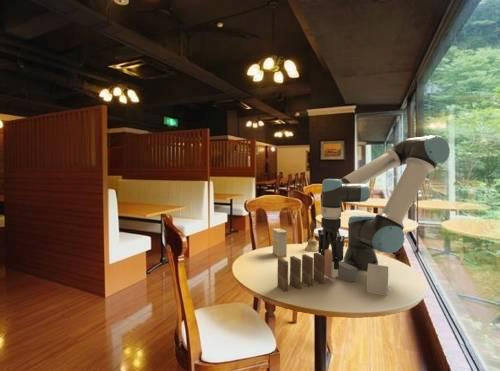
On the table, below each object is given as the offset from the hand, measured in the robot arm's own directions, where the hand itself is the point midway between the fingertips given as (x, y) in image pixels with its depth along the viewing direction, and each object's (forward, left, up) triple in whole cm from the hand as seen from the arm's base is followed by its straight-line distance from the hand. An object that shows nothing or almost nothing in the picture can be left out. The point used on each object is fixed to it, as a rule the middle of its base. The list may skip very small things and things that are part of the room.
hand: (329, 274), depth 116 cm
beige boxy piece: (-16, +9, -3) cm, 18 cm away
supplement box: (+20, -31, -3) cm, 37 cm away
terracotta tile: (0, 0, -1) cm, 1 cm away
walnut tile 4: (+5, +3, -2) cm, 6 cm away
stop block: (-7, -4, -2) cm, 8 cm away
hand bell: (+2, -43, -3) cm, 43 cm away
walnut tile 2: (+14, +8, -2) cm, 17 cm away
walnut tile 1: (+19, +11, -2) cm, 22 cm away
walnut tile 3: (+9, +5, -2) cm, 11 cm away
